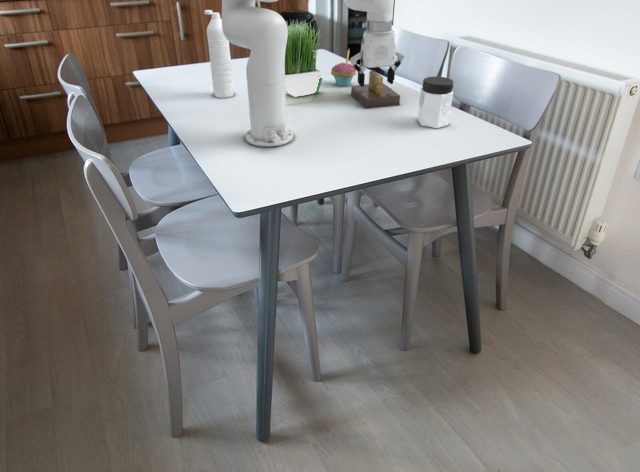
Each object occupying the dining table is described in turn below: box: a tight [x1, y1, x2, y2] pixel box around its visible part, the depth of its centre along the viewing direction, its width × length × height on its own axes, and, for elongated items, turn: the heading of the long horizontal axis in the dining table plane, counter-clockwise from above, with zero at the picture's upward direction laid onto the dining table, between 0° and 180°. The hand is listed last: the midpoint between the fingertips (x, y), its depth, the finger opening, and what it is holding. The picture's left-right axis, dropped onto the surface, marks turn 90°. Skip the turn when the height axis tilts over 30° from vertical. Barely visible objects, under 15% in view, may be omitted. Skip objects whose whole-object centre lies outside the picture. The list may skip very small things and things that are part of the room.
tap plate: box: [350, 83, 401, 109], centre depth 159 cm, size 14×11×3 cm
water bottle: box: [203, 9, 235, 99], centre depth 158 cm, size 9×6×25 cm
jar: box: [417, 76, 454, 129], centre depth 139 cm, size 9×8×12 cm
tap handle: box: [368, 70, 384, 94], centre depth 157 cm, size 7×2×5 cm, turn 17°
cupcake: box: [330, 47, 357, 87], centre depth 171 cm, size 9×8×12 cm
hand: (375, 84), depth 157 cm, fingers open, 9 cm apart
